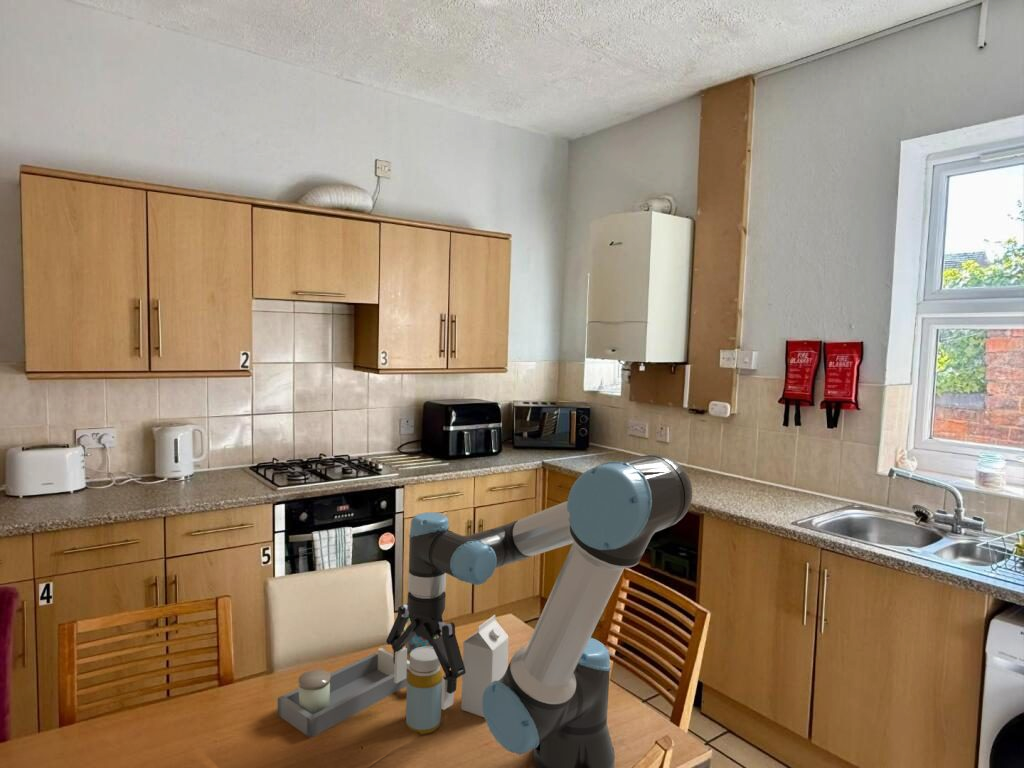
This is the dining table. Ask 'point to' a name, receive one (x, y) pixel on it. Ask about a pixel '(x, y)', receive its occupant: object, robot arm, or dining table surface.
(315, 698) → the jar
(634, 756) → the dining table surface
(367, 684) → the grey tray
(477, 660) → the milk carton
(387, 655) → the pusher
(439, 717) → the bottle
